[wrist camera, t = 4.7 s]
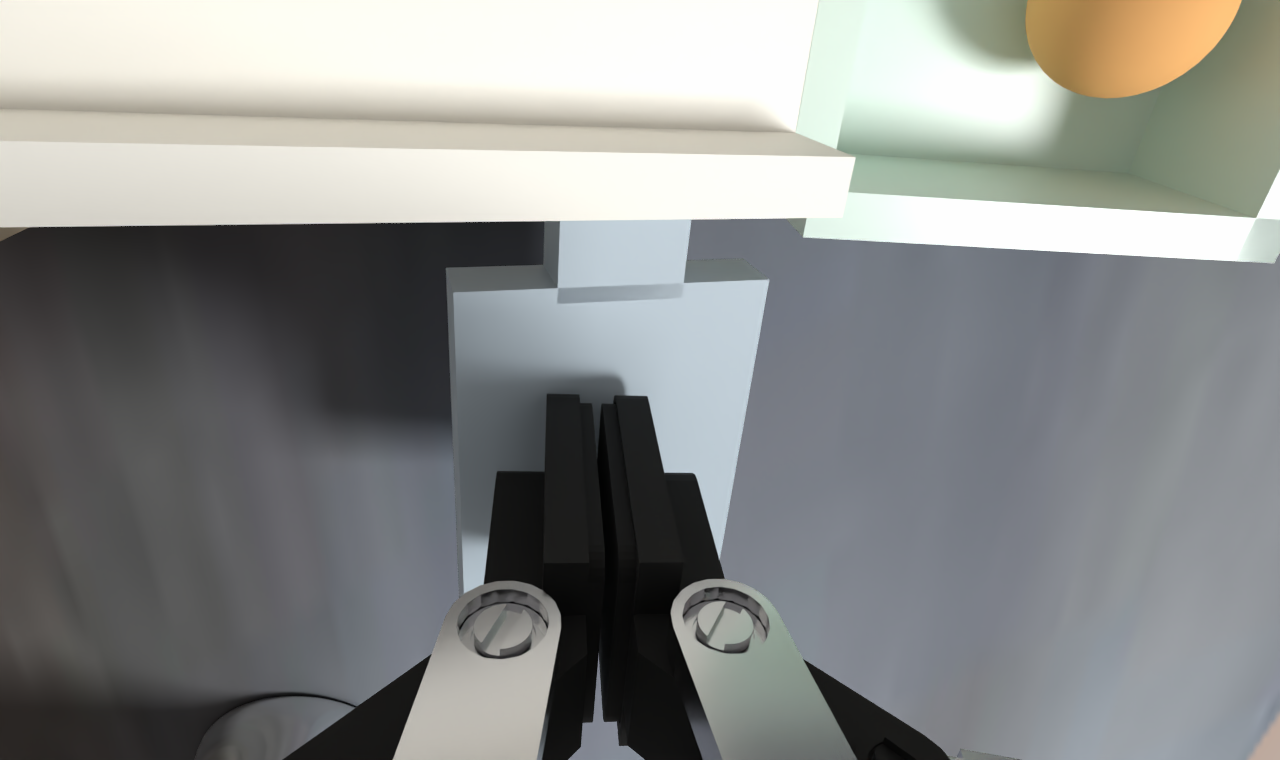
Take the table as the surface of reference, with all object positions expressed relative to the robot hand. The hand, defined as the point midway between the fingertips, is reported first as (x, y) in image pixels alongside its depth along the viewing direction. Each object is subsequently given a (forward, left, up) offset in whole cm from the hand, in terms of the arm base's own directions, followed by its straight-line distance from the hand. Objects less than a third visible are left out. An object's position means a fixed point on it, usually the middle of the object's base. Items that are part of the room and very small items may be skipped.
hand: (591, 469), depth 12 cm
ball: (-9, -8, -3) cm, 12 cm away
